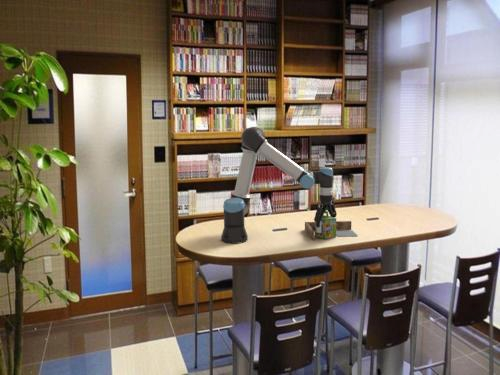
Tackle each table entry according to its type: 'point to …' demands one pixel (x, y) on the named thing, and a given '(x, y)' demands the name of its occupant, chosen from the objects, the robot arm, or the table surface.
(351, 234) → the pad
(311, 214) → the table surface
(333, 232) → the chalk box
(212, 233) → the table surface
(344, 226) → the wooden corner wall
